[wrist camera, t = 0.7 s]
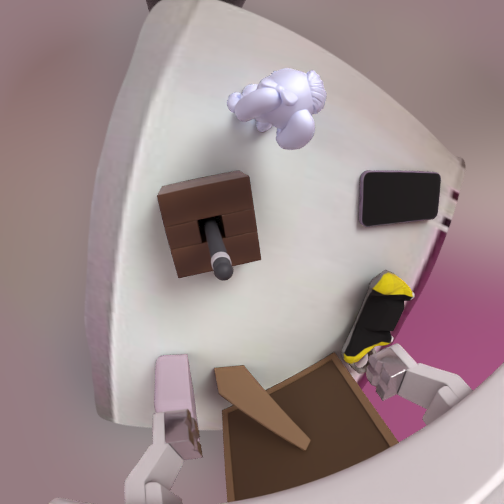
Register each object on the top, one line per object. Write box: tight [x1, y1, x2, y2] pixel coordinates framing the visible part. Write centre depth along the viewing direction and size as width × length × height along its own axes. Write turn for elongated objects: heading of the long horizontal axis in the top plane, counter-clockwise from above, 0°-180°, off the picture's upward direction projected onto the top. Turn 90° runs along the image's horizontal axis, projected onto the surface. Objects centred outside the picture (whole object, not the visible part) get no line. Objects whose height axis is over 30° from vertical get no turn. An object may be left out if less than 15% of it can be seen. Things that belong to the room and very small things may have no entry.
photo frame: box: [214, 352, 399, 502], centre depth 30 cm, size 15×22×25 cm
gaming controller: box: [341, 270, 414, 364], centre depth 38 cm, size 15×6×10 cm
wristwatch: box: [349, 348, 376, 373], centre depth 43 cm, size 4×6×5 cm
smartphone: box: [359, 171, 441, 227], centre depth 34 cm, size 7×1×15 cm
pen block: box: [157, 170, 261, 278], centre depth 27 cm, size 8×8×5 cm
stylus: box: [203, 217, 233, 280], centre depth 23 cm, size 1×1×14 cm
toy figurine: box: [227, 68, 327, 150], centre depth 21 cm, size 7×6×12 cm
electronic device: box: [154, 354, 200, 442], centre depth 33 cm, size 10×5×10 cm, turn 178°
